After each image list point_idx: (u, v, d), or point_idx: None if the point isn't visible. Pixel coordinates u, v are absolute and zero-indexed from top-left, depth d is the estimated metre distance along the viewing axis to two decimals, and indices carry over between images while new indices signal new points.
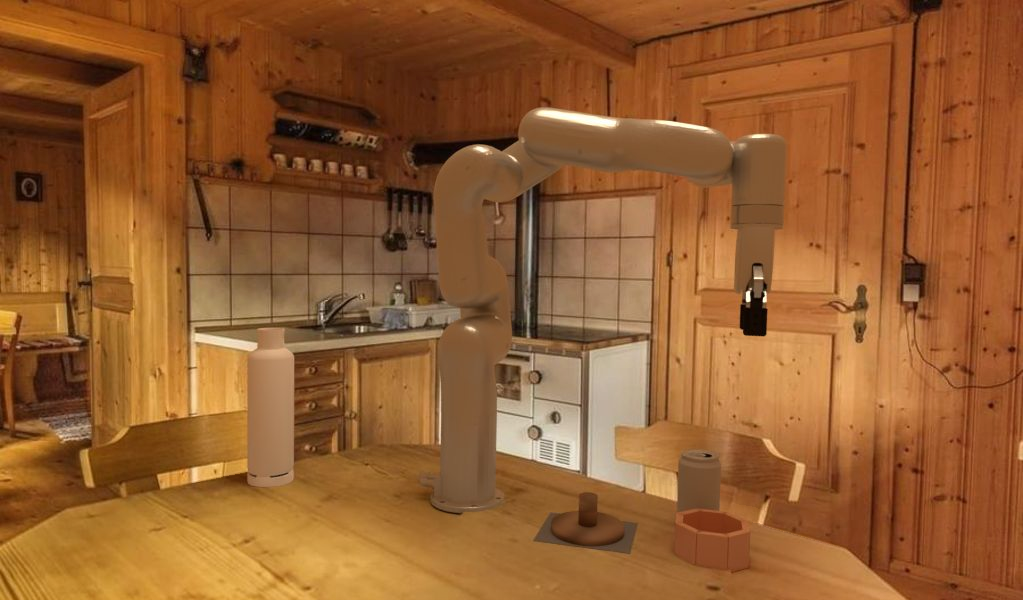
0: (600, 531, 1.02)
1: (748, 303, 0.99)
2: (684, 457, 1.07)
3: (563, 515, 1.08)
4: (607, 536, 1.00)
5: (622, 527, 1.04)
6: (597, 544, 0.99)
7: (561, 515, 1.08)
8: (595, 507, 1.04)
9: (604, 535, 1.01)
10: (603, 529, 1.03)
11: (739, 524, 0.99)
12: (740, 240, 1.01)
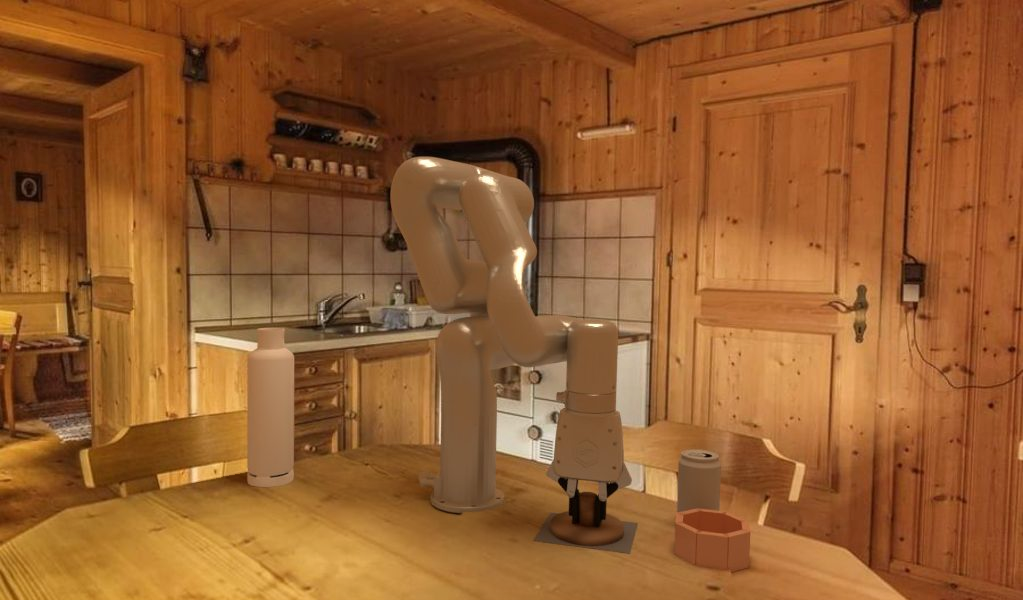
0: (600, 530, 1.02)
1: (606, 498, 1.03)
2: (684, 457, 1.07)
3: (562, 515, 1.08)
4: (607, 536, 1.00)
5: (622, 527, 1.04)
6: (597, 544, 1.00)
7: (561, 515, 1.08)
8: None
9: (604, 534, 1.01)
10: (602, 529, 1.03)
11: (739, 524, 0.99)
12: (615, 430, 1.01)
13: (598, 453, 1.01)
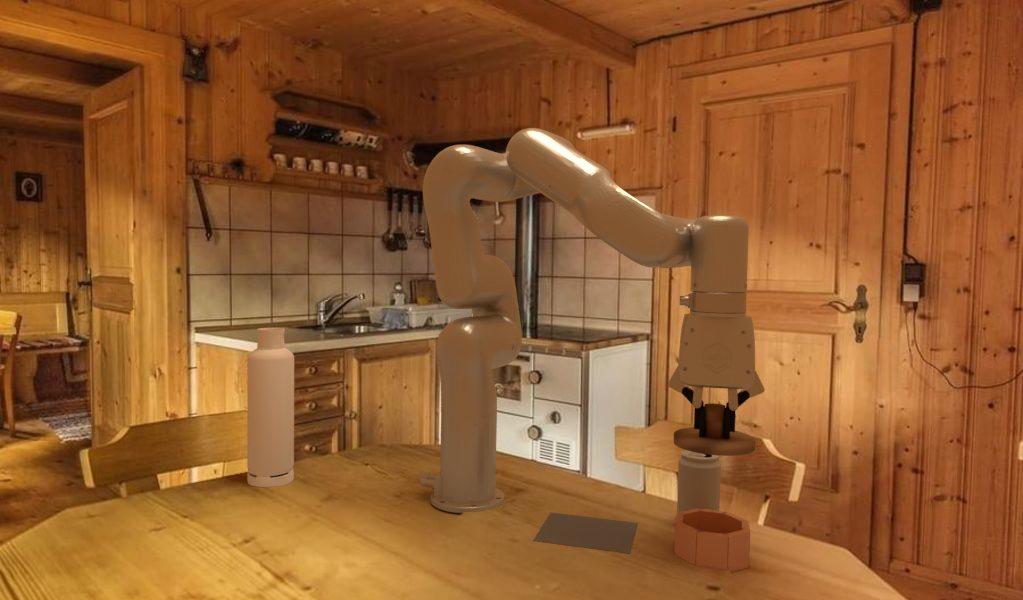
0: (731, 441, 0.94)
1: None
2: (684, 457, 1.07)
3: (683, 430, 1.00)
4: (741, 445, 0.93)
5: (753, 439, 0.96)
6: (732, 453, 0.92)
7: (681, 430, 1.00)
8: (723, 417, 0.96)
9: (738, 444, 0.93)
10: (733, 440, 0.95)
11: (739, 524, 0.99)
12: (749, 331, 0.93)
13: (730, 357, 0.94)
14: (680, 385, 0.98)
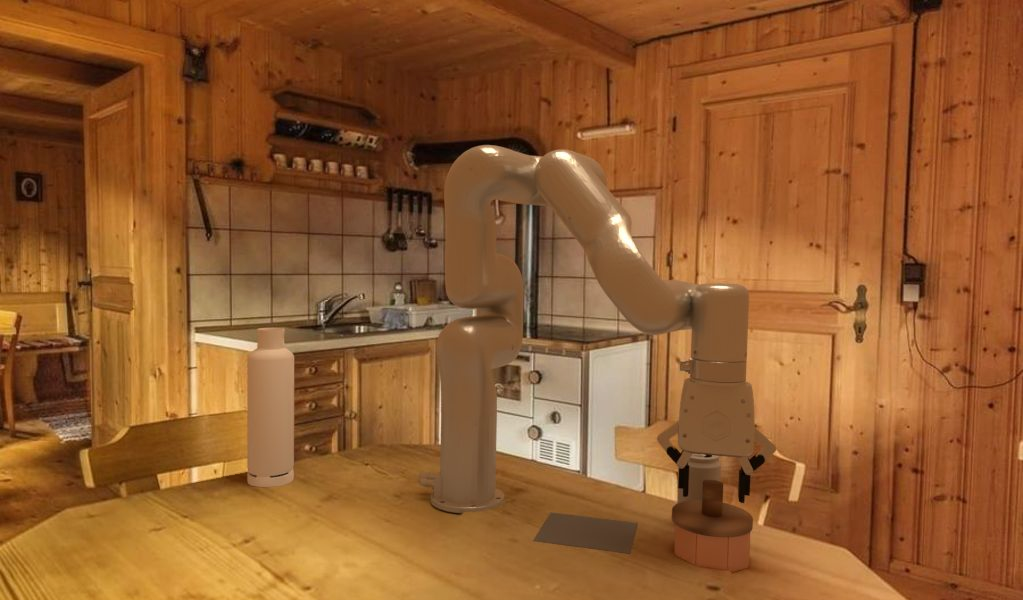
0: (729, 521, 0.95)
1: (752, 470, 0.95)
2: None
3: (682, 505, 1.01)
4: (739, 526, 0.93)
5: (750, 517, 0.97)
6: (729, 535, 0.93)
7: (679, 505, 1.01)
8: (721, 496, 0.97)
9: (736, 525, 0.94)
10: (731, 519, 0.96)
11: None
12: (748, 401, 0.94)
13: (730, 426, 0.94)
14: (668, 443, 0.99)
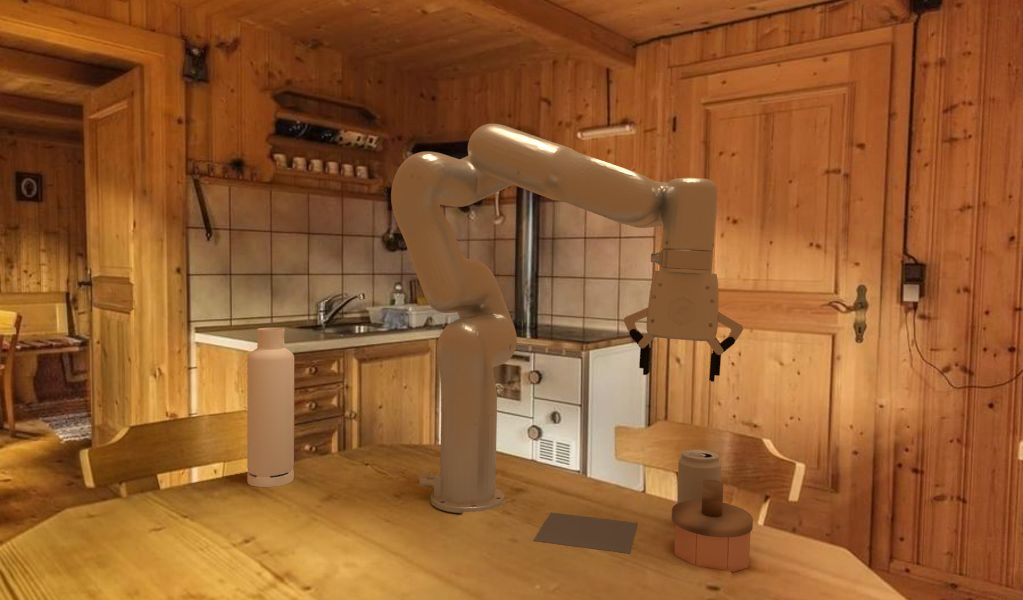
0: (729, 521, 0.95)
1: (723, 350, 1.01)
2: (684, 457, 1.07)
3: (682, 505, 1.01)
4: (739, 526, 0.93)
5: (750, 517, 0.97)
6: (729, 535, 0.93)
7: (679, 505, 1.01)
8: (721, 496, 0.97)
9: (736, 525, 0.94)
10: (731, 519, 0.96)
11: None
12: (712, 287, 0.99)
13: (694, 311, 1.00)
14: (632, 325, 1.05)
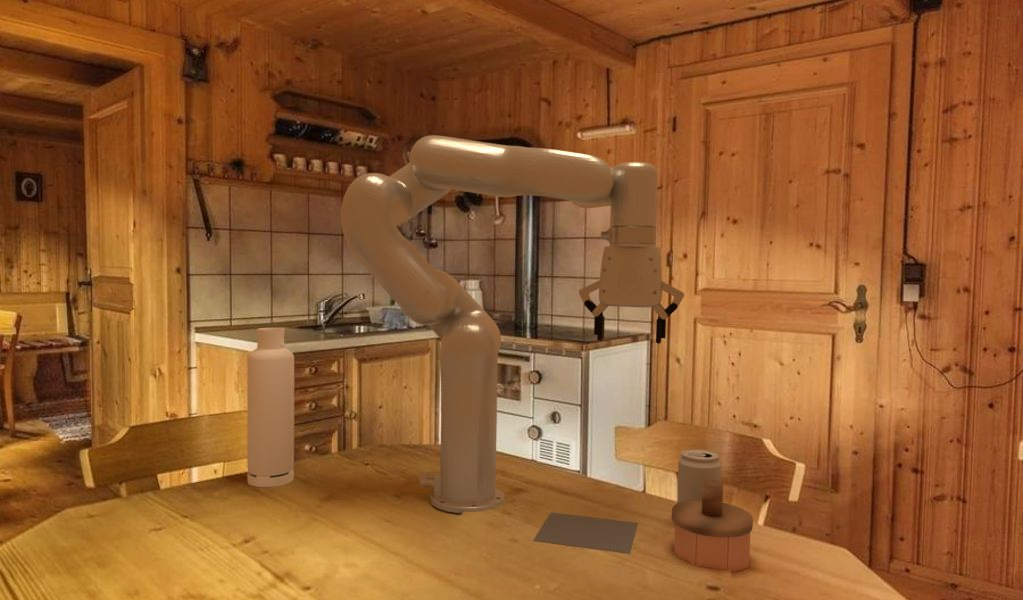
0: (729, 521, 0.95)
1: (667, 315, 1.13)
2: (684, 457, 1.07)
3: (682, 505, 1.01)
4: (739, 526, 0.93)
5: (750, 517, 0.97)
6: (729, 535, 0.93)
7: (679, 505, 1.01)
8: (721, 496, 0.97)
9: (736, 525, 0.94)
10: (731, 519, 0.96)
11: None
12: (655, 259, 1.12)
13: (640, 280, 1.12)
14: (587, 296, 1.17)
